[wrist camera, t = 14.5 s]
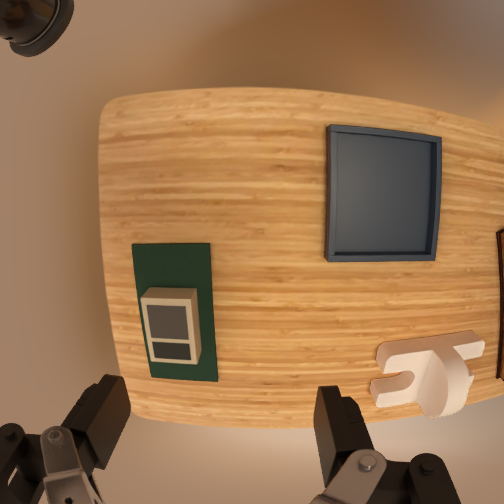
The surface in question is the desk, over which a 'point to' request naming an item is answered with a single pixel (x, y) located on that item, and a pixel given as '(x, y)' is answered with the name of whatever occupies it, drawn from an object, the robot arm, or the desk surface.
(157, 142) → the desk surface
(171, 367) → the mat
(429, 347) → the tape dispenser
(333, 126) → the tray
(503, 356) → the book
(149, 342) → the beige rectangular block
